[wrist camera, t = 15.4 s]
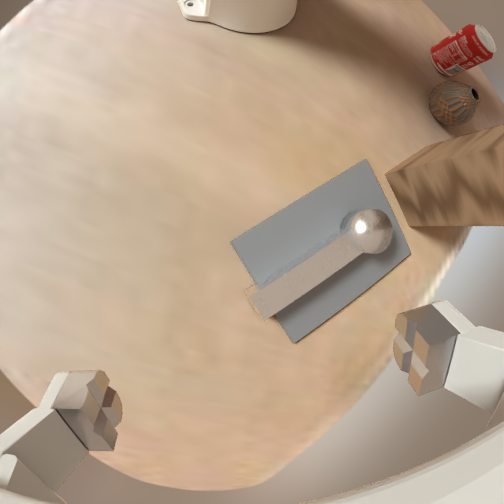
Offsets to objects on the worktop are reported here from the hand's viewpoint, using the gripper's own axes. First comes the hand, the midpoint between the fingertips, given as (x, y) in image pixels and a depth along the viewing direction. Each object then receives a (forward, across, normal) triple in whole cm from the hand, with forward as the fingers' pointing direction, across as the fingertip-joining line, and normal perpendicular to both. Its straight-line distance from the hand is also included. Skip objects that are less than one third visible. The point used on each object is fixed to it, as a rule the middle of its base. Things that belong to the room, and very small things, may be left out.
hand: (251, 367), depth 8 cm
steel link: (+27, -8, +10) cm, 30 cm away
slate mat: (+28, -11, +10) cm, 32 cm away
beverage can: (+42, -40, -14) cm, 59 cm away
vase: (+38, -34, -6) cm, 52 cm away
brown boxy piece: (+33, -26, +5) cm, 42 cm away
